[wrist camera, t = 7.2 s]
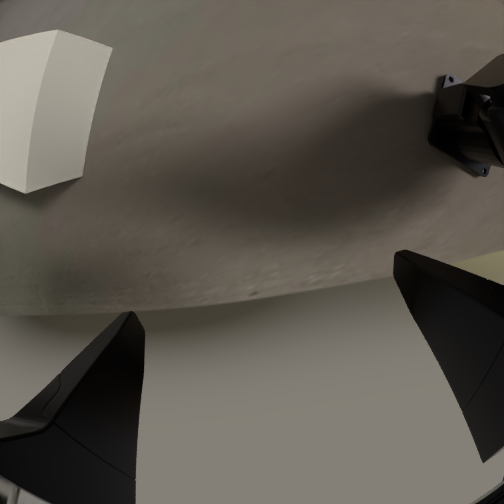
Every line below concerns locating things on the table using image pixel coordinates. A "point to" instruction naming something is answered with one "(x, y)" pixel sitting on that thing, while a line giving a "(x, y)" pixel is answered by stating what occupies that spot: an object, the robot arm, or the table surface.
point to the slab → (47, 106)
